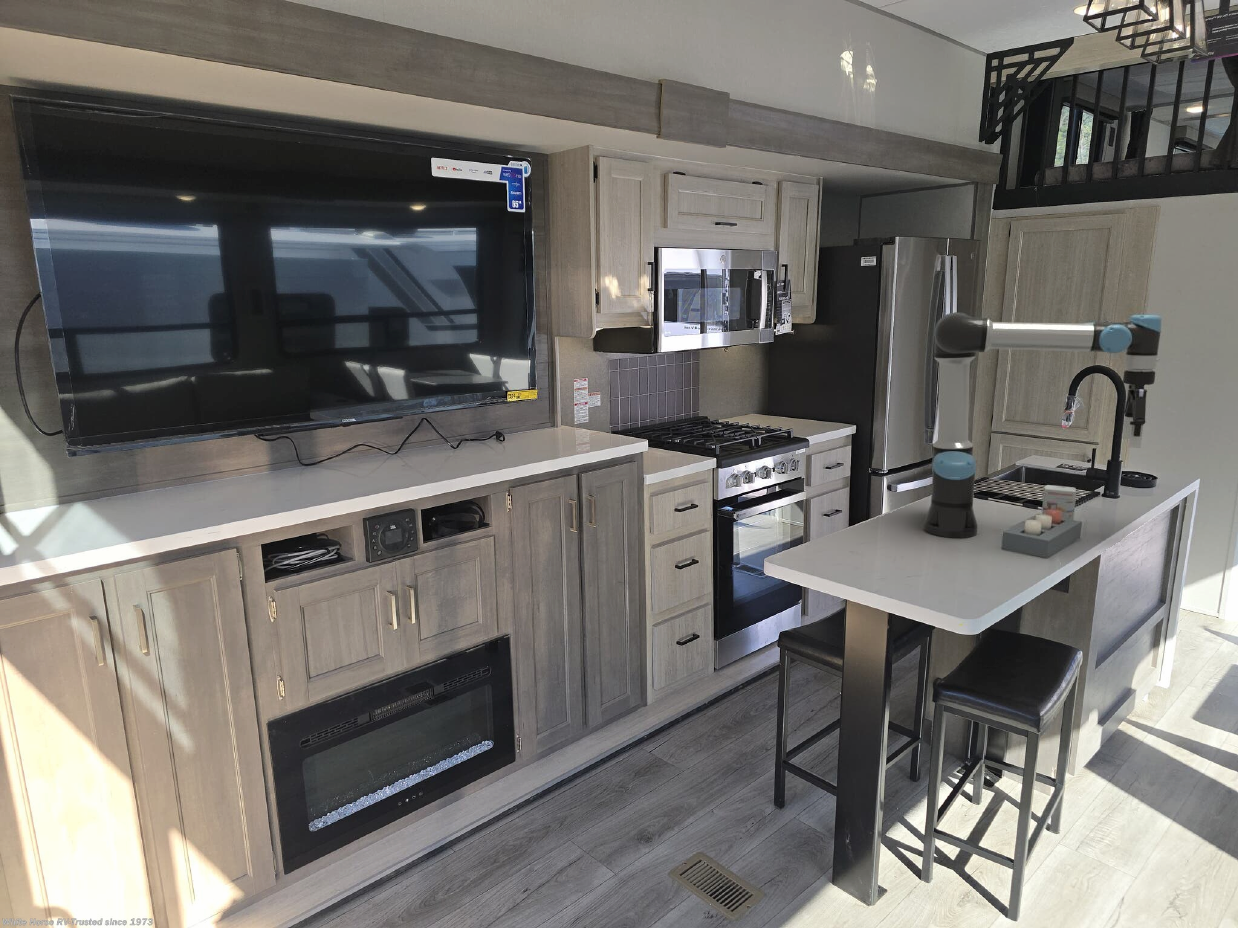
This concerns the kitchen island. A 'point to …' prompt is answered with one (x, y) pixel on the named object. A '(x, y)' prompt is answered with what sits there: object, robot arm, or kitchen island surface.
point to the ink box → (1059, 500)
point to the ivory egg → (1033, 527)
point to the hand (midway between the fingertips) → (1131, 443)
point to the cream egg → (1044, 521)
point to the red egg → (1054, 515)
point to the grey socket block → (1041, 538)
